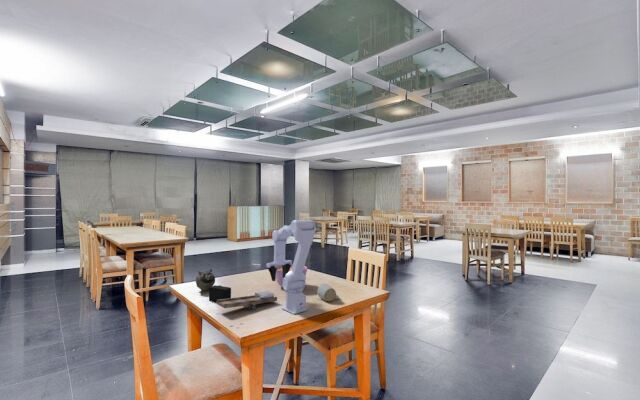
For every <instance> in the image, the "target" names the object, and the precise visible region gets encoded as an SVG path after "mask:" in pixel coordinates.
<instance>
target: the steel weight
mask: <svg viewBox="0 0 640 400" xmlns="http://www.w3.org/2000/svg"><path fill="white" fill-rule="evenodd" d="M254 295H255V297H254V298H256V299H265V298H272V297H275V293H274V292H271V291H269V290H267V291H266V290H265V291H257V292H255V293H254Z"/></svg>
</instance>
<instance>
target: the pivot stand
mask: <svg viewBox="0 0 640 400" xmlns="http://www.w3.org/2000/svg"><path fill="white" fill-rule="evenodd" d="M242 307H244V308H246V309H247V310H249V311H251V312H253V311H256V304H253V305H245V306H242Z"/></svg>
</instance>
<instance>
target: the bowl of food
mask: <svg viewBox="0 0 640 400" xmlns="http://www.w3.org/2000/svg"><path fill="white" fill-rule="evenodd" d="M289 265H291V268H290V269H289V271H288V272H290V271H291V270H292V266H293V263H292V264H289ZM275 268H277V271H276V279H275V282H276V283H277V284H278V285H279V286H280V287H282V288H283V285H282V281H283V279H284V278H283V269H282V265H281V266H275ZM307 272H308V267H307V266H306V265H305V266H304V269H303V273H304V274H305V276H306V275H307Z"/></svg>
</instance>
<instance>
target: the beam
mask: <svg viewBox="0 0 640 400" xmlns="http://www.w3.org/2000/svg"><path fill="white" fill-rule="evenodd" d="M254 297H255V294H254V295H244V296H237V297H231V298H228V299H219V300H217V302H216V305H218V306H220V307H221V308H223V309H229V308H237V307H238V308H239V307H243V306H245V305H253V304H254V305H259V304H264V303H265V304H266V303H272V302H277V301H278V297H277V296H274V297H272V298H265V299H256V298H254Z"/></svg>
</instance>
